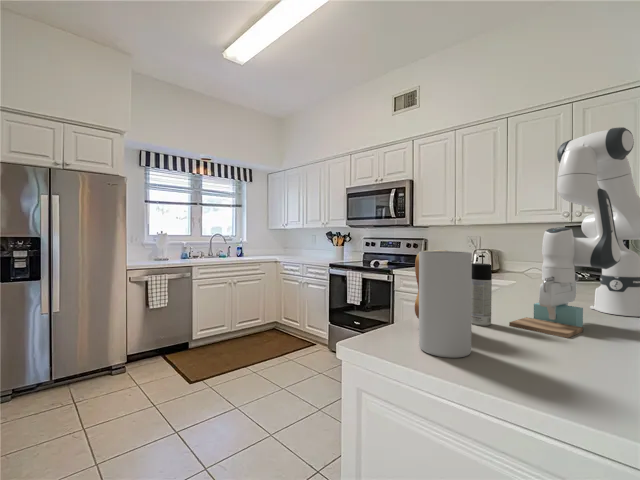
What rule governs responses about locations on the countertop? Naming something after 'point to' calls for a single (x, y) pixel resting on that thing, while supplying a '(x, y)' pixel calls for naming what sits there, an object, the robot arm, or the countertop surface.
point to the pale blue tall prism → (561, 314)
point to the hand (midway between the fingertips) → (557, 317)
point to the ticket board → (547, 327)
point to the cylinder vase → (445, 303)
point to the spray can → (481, 294)
